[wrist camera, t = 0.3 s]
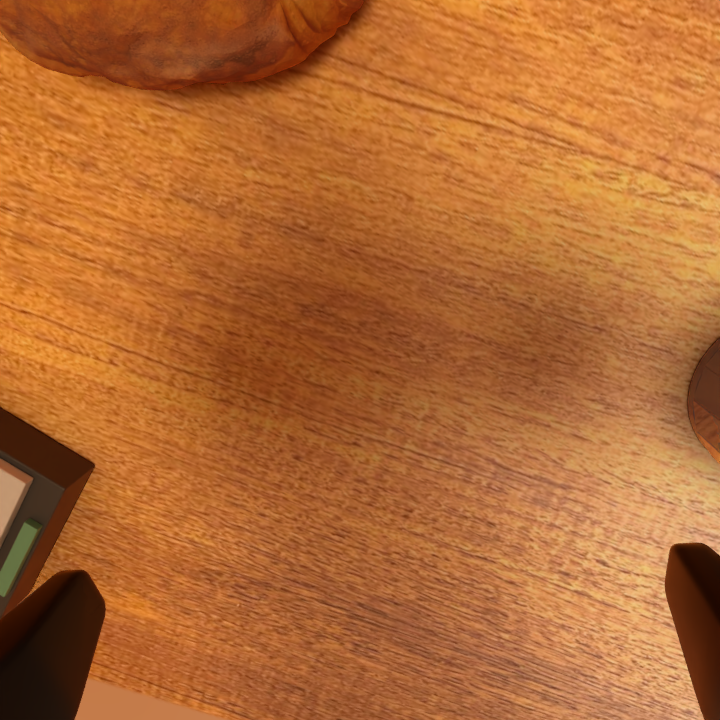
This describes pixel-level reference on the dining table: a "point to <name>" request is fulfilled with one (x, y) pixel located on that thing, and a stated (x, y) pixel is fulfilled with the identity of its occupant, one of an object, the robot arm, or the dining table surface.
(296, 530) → the dining table surface
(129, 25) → the croissant
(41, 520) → the scale
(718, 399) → the cup
